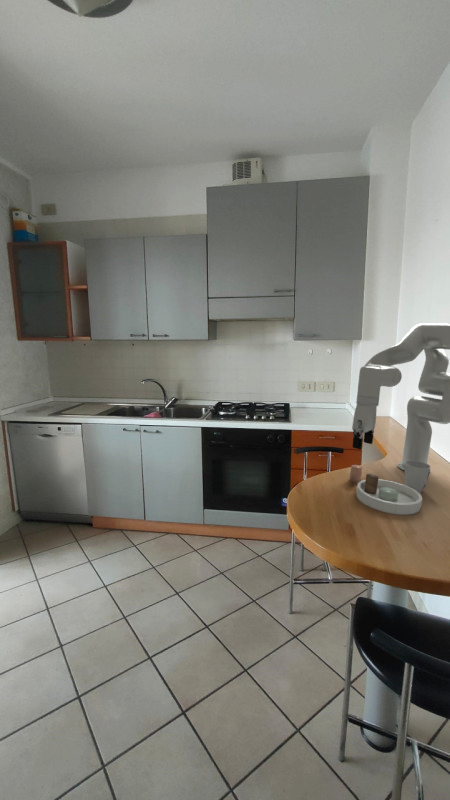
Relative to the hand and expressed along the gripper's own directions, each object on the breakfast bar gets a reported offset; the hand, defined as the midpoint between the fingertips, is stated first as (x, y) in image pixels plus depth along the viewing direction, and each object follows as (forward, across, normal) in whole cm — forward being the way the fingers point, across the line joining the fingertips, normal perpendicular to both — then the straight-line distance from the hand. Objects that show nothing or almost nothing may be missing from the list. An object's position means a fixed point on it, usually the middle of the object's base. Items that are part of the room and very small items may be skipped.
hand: (362, 445), depth 133 cm
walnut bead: (+14, +6, +7) cm, 17 cm away
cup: (+15, -10, +17) cm, 25 cm away
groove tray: (+15, +6, +13) cm, 21 cm away
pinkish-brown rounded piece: (+15, -1, -2) cm, 15 cm away
